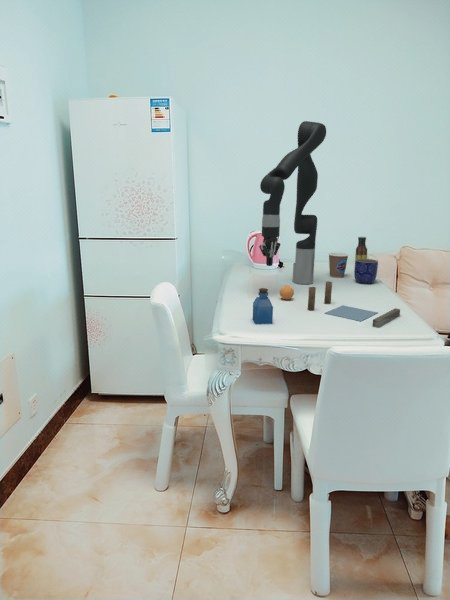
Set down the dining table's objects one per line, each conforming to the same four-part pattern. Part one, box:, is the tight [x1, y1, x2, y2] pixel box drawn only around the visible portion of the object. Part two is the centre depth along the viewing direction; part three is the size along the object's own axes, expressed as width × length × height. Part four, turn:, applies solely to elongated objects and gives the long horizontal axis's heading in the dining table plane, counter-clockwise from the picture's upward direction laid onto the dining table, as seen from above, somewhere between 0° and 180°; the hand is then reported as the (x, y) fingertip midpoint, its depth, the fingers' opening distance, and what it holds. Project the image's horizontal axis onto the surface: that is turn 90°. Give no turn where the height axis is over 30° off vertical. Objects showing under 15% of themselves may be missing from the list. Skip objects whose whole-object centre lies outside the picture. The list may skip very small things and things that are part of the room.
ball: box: [279, 285, 295, 301], centre depth 197 cm, size 6×6×6 cm
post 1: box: [307, 286, 317, 311], centre depth 182 cm, size 3×3×9 cm
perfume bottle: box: [252, 287, 274, 325], centre depth 166 cm, size 6×6×12 cm
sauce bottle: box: [354, 236, 368, 261], centre depth 251 cm, size 7×6×20 cm
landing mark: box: [324, 304, 379, 323], centre depth 179 cm, size 15×15×1 cm
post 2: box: [323, 281, 333, 305], centre depth 191 cm, size 3×3×9 cm
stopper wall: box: [372, 308, 401, 329], centre depth 170 cm, size 2×20×2 cm, turn 139°
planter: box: [353, 258, 379, 285], centre depth 230 cm, size 11×11×11 cm
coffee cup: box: [328, 252, 349, 279], centre depth 243 cm, size 10×10×12 cm
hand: (269, 265), depth 200 cm, fingers closed
